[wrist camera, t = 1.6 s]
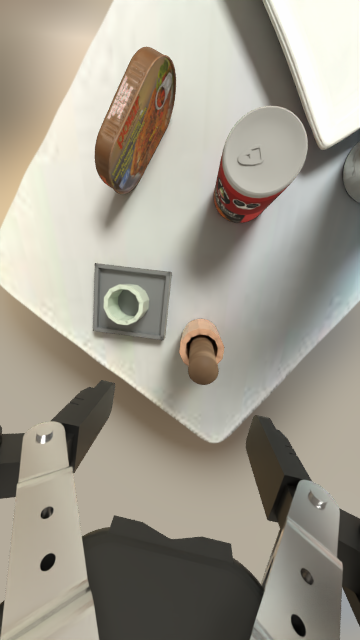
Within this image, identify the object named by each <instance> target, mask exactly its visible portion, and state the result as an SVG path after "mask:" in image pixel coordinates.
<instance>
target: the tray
mask: <svg viewBox="0 0 360 640" xmlns="http://www.w3.org/2000/svg"><path fill="white" fill-rule="evenodd" d="M171 276H172V272H166V271H157V270H149V269H140V268H131V267H123V266H114V265H105V264H97V263H95V278H94V315H93V331H99V332H106V333H114V334H121V335H129V336H136V337H144V338H152V339H159V340H164V338H165V334H166V325H167V315H168V305H169V295H170V286H171ZM119 284H134V285H138V286H140V287H141V288H142V289H144V290H145V291H146V293H147V295H148V298H149V309H148V310H147V312H146V313H145V315H144V316H143V317H142V318H140V319H139V320H138V321H136V322H133V323H131V324H129V325H122V324H117V323H115V322H114V321H112V320H111V319H110V318H108V316H107V314H106V312H105V310H104V297H105V295H106V294H107V292H108V291H109V289H110V288H113V287H115V286H117V285H119ZM118 305H119V308H120V310H121V311H122V312H123V313H125V314H126V315H129V316H135V315H136V314H137V313H138V310H139V302H138V300H137V298H136V295H135V294H133V293H132V292H131V291H129V290H123V291H122V292H121V293H120V295H119V296H118Z"/></svg>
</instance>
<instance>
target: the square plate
mask: <svg viewBox="0 0 360 640" xmlns="http://www.w3.org/2000/svg"><path fill="white" fill-rule="evenodd" d="M262 1H263V3H264V5H265V8H266V10H267V13H268V15H269V17H270V20H271V22H272V25H273V27H274V30H275V32H276V34H277V37H278V39H279V42H280V44H281V47H282V50H283V52H284V55H285V58H286V60H287V63H288V66H289V68H290V71H291V74H292V77H293V80H294V82H295V85H296V88H297V91H298V94H299V97H300V100H301V103H302V106H303V109H304V111H305V114H306V117H307V120H308V122H309V125H310V127H311V129H312V132H313V135H314V138H315V140H316V142H317V145H318V147H319V148H320V149H321V150H325V149H328V148H330V147H331V146H333V145H335V144H337V143H338V142H340V141H342V140H343V139H345V138H347V137H348V136H350V135H351V134H353V133H354V132H356V131H357V130H359V129H360V0H262Z"/></svg>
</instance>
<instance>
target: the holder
mask: <svg viewBox="0 0 360 640" xmlns="http://www.w3.org/2000/svg"><path fill="white" fill-rule="evenodd" d="M123 290H129V291H131V292H132V293H133V294H135V295H136V298H137V300H138V302H139V310H138V313H137V314H136V315H135V316H129V315H126V314H125V313H123V312H122V311H121V310H120V308H119V305H118V296H119V295H120V293H121V292H122V291H123ZM148 309H149V298H148V295H147V293H146V291H145V290H144V289H142V288H141V287H140V286H138V285H134V284H119V285H117V286H115V287H113V288H110V289H109V291H108V292H107V294H106V295H105V297H104V310H105V312H106V314H107V316H108V318H110V319H111V320H112V321H114V322H115V323H117V324H122V325H129V324H131V323H133V322H136V321H138V320H139V319H140V318H142V317H143V316H144V315H145V313H146V312H147V310H148Z"/></svg>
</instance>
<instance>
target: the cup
mask: <svg viewBox="0 0 360 640" xmlns="http://www.w3.org/2000/svg"><path fill="white" fill-rule="evenodd" d="M199 334H202V335H208V336H210V338H211V341H212V345H213V349H214V353H215V357H216V361H217V364H218V363H219V362H220V361H221V360H222V358H223V353H224V345H223V343H222V341H221V338H220V336H219V333H218V331H217V328H216V326H215V325H214V324H213V323H211V322H210V321H208V320H205V319H196V320H193V321H191V322H189V323H188V324H187V326H186V327H185V329H184V330H183V334H182V338H181V343H180V351H179V353H180V355H181V357H182V360H183V362H184V363H185V364H186V365H188V366H189V355H190V343H191V337H194V336H196V335H199Z"/></svg>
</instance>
